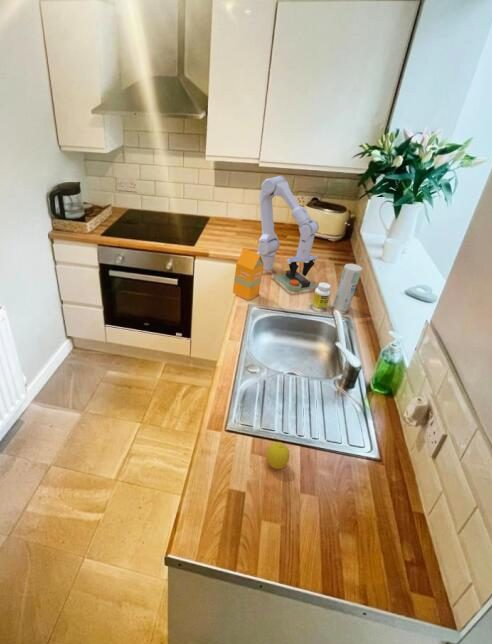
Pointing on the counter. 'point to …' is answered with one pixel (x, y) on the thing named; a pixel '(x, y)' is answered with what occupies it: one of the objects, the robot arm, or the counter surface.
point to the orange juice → (248, 275)
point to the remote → (299, 279)
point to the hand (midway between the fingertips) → (298, 276)
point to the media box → (286, 283)
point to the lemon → (277, 455)
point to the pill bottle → (321, 296)
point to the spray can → (347, 287)
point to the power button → (294, 282)
